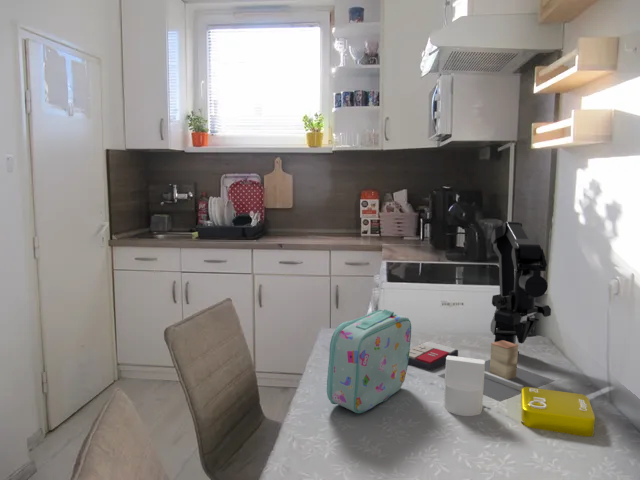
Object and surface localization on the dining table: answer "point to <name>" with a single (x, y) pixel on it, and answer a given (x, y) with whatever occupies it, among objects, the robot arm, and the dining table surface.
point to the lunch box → (368, 360)
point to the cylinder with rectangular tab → (464, 385)
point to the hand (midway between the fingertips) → (520, 342)
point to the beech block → (504, 359)
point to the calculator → (430, 355)
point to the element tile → (557, 411)
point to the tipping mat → (509, 383)
